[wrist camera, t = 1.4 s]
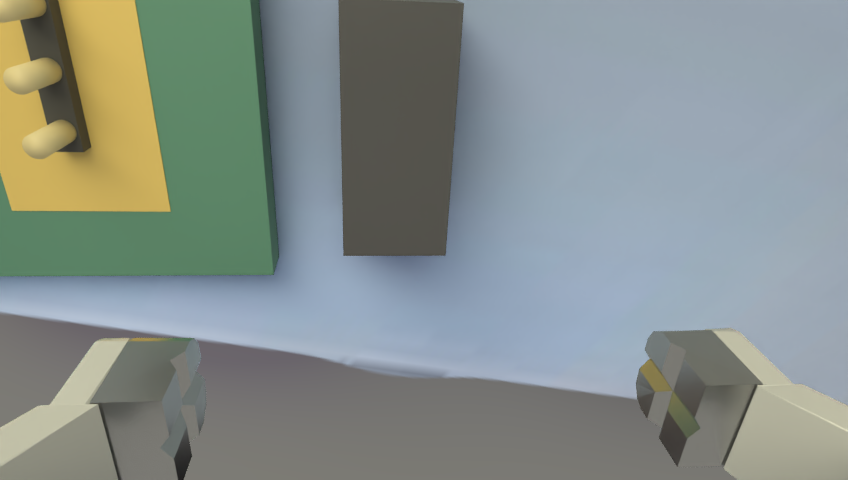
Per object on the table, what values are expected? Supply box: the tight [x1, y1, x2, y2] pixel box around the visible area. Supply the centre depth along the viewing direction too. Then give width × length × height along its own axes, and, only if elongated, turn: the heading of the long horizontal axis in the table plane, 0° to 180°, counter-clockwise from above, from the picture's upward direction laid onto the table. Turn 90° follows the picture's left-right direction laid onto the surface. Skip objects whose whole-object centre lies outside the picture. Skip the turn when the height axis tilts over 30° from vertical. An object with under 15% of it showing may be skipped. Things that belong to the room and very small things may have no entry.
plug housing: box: [339, 0, 464, 256], centre depth 25 cm, size 5×11×5 cm, turn 177°
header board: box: [0, 0, 279, 276], centre depth 23 cm, size 16×20×5 cm
